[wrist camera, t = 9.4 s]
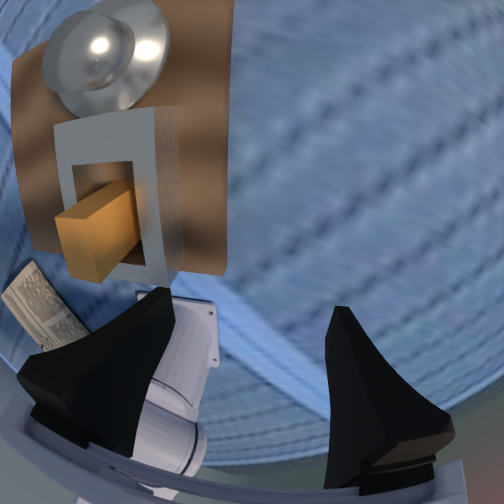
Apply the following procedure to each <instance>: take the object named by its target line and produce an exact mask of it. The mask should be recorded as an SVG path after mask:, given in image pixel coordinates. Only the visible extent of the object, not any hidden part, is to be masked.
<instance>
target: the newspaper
mask: <svg viewBox="0 0 504 504" xmlns="http://www.w3.org/2000/svg"><path fill="white" fill-rule="evenodd" d="M1 298H2V300H3V301H4V302H5V304H6V305H7V307H8V308H9V309H10V311H11V312H12V313H13V315H14V316H15V317H16V319H17V320H18V321H19V322H20V324H21V325H22V326H23V327H24V329H25V330H26V331H27V332H28V333H29V335H30V336H31V337H32V338H33V339H34V340H35V342H36V343H37V344H38V345H39V346H40V347H41V348H42V349H43V351H44V352H47V351H50V350H53V349H56V348H59V347H62V346H64V345H67V344H69V343H72V342H74V341H76V340H78V339H80V338H82V337H84V336H86V335H88V334H90V332H89V331H88V330H87V329H86V328H85V327H84V326H83V324H82V323H81V322H80V321H79V320H78V319H77V317H76V316H75V315H74V314H73V313H72V311H71V310H70V309H69V308H68V306H67V305H66V304H65V303H64V301H63V300H62V299H61V298H60V296H59V295H58V294H57V292H56V291H55V290H54V288H53V287H52V286H51V284H50V283H49V281H48V280H47V279H46V277H45V276H44V274H43V273H42V272H41V270H40V269H39V267H38V266H37V264H36V263H35V261H34V260H32V261H31V262H30V263H29V264H28V265H27V266H26V267H25V268H24V269H23V270H22V271H21V272H20V273H19V275H18V276H17V277H16V278H15V279H14V280H13V282H12V283H11V284H10V285H9V287H8V288H7V289H6V290H5V292H4V293H3V294H2V296H1Z"/></svg>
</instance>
